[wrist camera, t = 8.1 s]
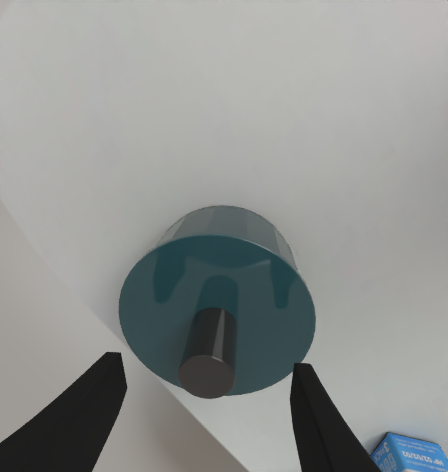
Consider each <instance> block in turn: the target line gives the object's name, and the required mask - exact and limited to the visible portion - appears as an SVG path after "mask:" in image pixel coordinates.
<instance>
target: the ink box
mask: <svg viewBox="0 0 448 472" xmlns="http://www.w3.org/2000/svg"><path fill="white" fill-rule="evenodd" d="M370 457H371V458H372V459H373V461H374V462H375V463H376V465H377V466H378V467H379V468H380V470H381V471H382V472H448V459H447V458H446V456H445V454H444V452H443V451H442V449H441V447H440V446H439V445H438V444H435V443H430V442H426V441H421V440H417V439H413V438H409V437H404V436H400V435H395V434H392V433H387V436H386V437H385V438H384V440H383V441H382V442H381V444H380V445H379V446H378V447H377V449H376V450H375V451H374V452H373V454H372V455H371V456H370Z"/></svg>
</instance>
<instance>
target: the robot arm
mask: <svg viewBox="0 0 448 472" xmlns="http://www.w3.org/2000/svg"><path fill="white" fill-rule="evenodd" d="M126 391H127V384H126V378H125V372H124V367H123V362H122V357H121V353H116V352H106V353H105V354H104V355H103V356H102V357H101V358H100V359H99V360H98V361H96V362H95V363H94V364H93V365H92V366H91V367H90V368H89V369H88V370H87V371H86V372H85V373H84V374H83V375H81V376H80V377H79V378H78V379H77V380H76V381H75V382H74V383H73V384H72V385H71V386H70V387H68V388H67V389H66V390H65V391H64V392H63V393H62V394H61V395H59V396H58V397H57V398H56V399H55V400H54V401H53V402H51V403H50V404H49V405H48V406H47V407H45V408H44V409H43V410H42V411H41V412H40V413H38V414H37V415H36V416H35V417H33V419H31V420H30V421H29V422H27V423H26V424H25V425H23V426H22V427H21V428H20V429H18V430H17V431H16V432H14V433H13V434H12V435H10V436H9V437H8V438H6V439H5V440H4V441H2V442H1V443H0V472H92V470H93V468H94V466H95V464H96V462H97V460H98V458H99V455H100V453H101V451H102V449H103V447H104V445H105V443H106V440H107V438H108V436H109V434H110V432H111V430H112V427H113V425H114V423H115V421H116V419H117V416H118V414H119V411H120V409H121V406H122V402H123V399H124V397H125V394H126ZM290 405H291V414H292V423H293V430H294V435H295V440H296V445H297V450H298V455H299V460H300V465H301V469H302V472H382V471H381V470H380V468H379V467H378V466H377V465H376V463H375V462H374V461H373V459H372V458H371V457H370V456H369V454H368V453H367V452H366V450H365V449H364V448H363V446H362V445H361V443H360V442H359V441H358V439H357V438H356V436H355V435H354V434H353V432H352V431H351V429H350V428H349V426H348V425H347V423H346V422H345V421H344V419H343V417H342V416H341V414H340V413H339V411H338V410H337V408H336V407H335V405H334V404H333V402H332V400H331V399H330V397H329V395H328V394H327V392H326V390H325V389H324V387H323V385H322V384H321V382H320V380H319V378H318V376H317V374H316V373H315V371H314V369H313V367H312V365H311V364H307V363H294V369H293V377H292V386H291V394H290Z"/></svg>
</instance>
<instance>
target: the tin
mask: <svg viewBox="0 0 448 472" xmlns="http://www.w3.org/2000/svg"><path fill="white" fill-rule="evenodd" d="M199 231H222V232H230V233H235V234H240V235H243V236H246V237H249V238H253V239H255V240H257V241H259V242H262V243H264V244H266V245H268V246H269V247H271V248H272V249H274V250H276V251H277V252H279V253H280V254H281V255H282V256H283V257H285V258H286V259H287V260H288V261H289V262H290V263H291V264H292V265H293V266H294V267H295V268H296V269H297V267H296V265H295V262H294V259H293V256H292V253H291V250H290V247H289V245H288V244H287V243H286V241H285V239H284V238H283V236H282V235H281V233H280V232H279V231H278V230H277V229H276V228H275V227H274V226H273V225H272V224H271V223H270V222H269V221H267V220H266V219H264V218H263V217H261V216H260V215H258V214H256V213H254V212H252V211H249V210H246V209H243V208H239V207H233V206H211V207H206V208H202V209H199V210H196V211H194V212H192V213H189V214H187V215H186V216H184V217H183V218H182V219H180V220H179V221H178V222H177V223H175V224H174V225H173V226H172V227H171V228H170V229H168V231H167V232H166V233H165V234H164V236H163V237H162V238H161V240H160V241H159V242H158V244H160V243H162V242H164V241H166V240H168V239H171V238H173V237H176V236H180V235H183V234H187V233H193V232H199ZM158 244H157V245H158ZM157 245H156V246H157ZM297 271H298V270H297Z"/></svg>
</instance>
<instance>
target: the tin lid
mask: <svg viewBox="0 0 448 472" xmlns="http://www.w3.org/2000/svg"><path fill="white" fill-rule="evenodd" d="M119 318H120V324H121V328H122V331H123V334H124V336H125V339H126V341H127V343H128V344H129V346H130V348H131V349H132V351H133V352H134V354H135V355H136V356H137V357H138V359H139V360H140V361H141V362H142V363H143V364H144V365H145V366H146V367H147V368H149V369H150V370H151V371H152V372H153V373H155V374H156V375H158V376H159V377H161V378H162V379H164V380H166V381H168V382H170V383H172V384H173V385H176V386H178V387H181V388H183V389H185V390H186V391H187V392H189V393H190V394H192V395H194V396H197V397H200V398H206V399H212V398H218V397H222V396H232V395H242V394H247V393H252V392H255V391H259V390H262V389H264V388H267V387H269V386H272V385H273V384H275V383H277V382H279V381H281V380H282V379H284V378H285V377H286V376H288V375H289V374H290V373H291V372H292V371H293V369H294V363H301V362H302V360H303V359H304V357H305V356H306V354H307V352H308V351H309V349H310V346H311V343H312V341H313V337H314V332H315V323H316V316H315V308H314V304H313V301H312V297H311V294H310V292H309V289H308V287H307V285H306V283H305V281H304V279H303V278H302V276H301V275H300V274H299V272H298V271H297V269H296V268H295V267H294V266H293V265H292V264H291V263H290V262H289V261H288V260H287V259H286V258H285V257H283V256H282V255H281V254H280V253H279V252H277V251H276V250H274V249H272V248H271V247H269V246H268V245H266V244H264V243H262V242H259V241H257V240H255V239H253V238H249V237H246V236H243V235H240V234H235V233H230V232H222V231H199V232H193V233H187V234H183V235H180V236H176V237H173V238H171V239H168V240H166V241H164V242H162V243H160V244H158V245H157V246H155V247H154V248H152V249H151V250H149V251H148V252H147V253H146V254H145V255H144V256H143V257H142V258H141V259H140V260H139V261H138V262H137V264H136V265H135V266H134V267H133V268H132V270H131V271H130V273H129V274H128V276H127V278H126V280H125V282H124V284H123V287H122V290H121V294H120V299H119Z"/></svg>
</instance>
